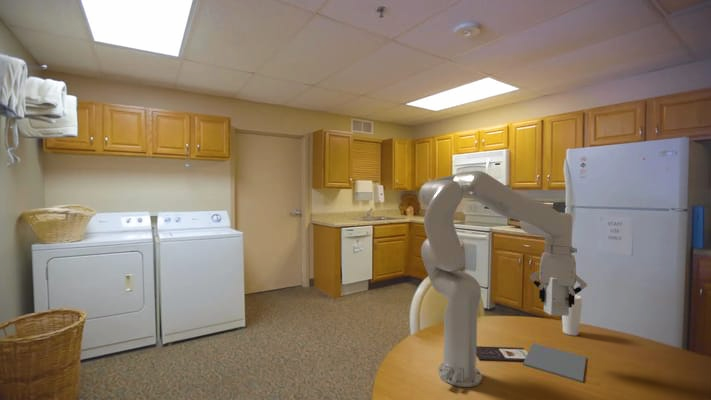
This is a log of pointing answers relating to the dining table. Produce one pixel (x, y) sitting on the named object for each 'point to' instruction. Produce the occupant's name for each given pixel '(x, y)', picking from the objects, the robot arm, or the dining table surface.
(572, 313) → the white hollow tapered cylinder
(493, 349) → the chocolate bar
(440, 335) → the dining table surface
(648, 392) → the dining table surface
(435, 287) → the robot arm
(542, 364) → the mat
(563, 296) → the skincare box
